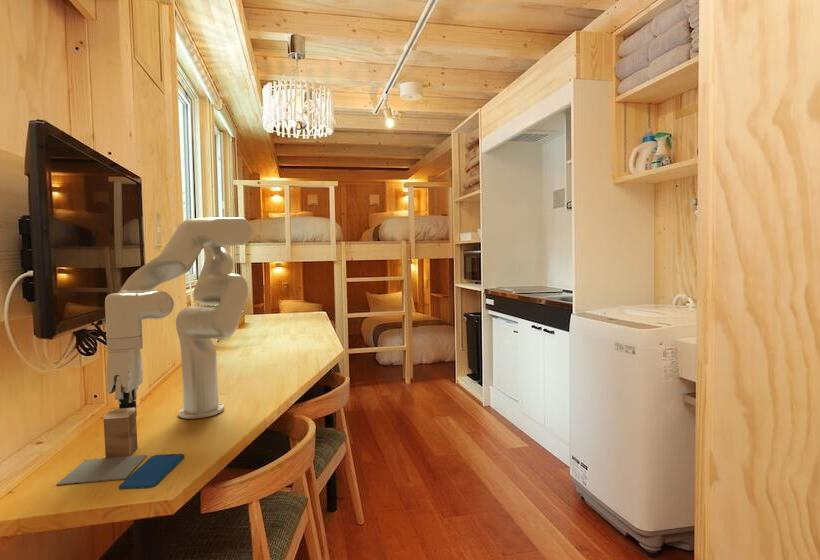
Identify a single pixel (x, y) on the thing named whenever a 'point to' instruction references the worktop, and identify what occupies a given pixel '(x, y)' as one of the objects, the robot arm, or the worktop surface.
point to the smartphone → (152, 471)
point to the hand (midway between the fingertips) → (128, 418)
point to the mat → (103, 469)
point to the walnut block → (120, 432)
